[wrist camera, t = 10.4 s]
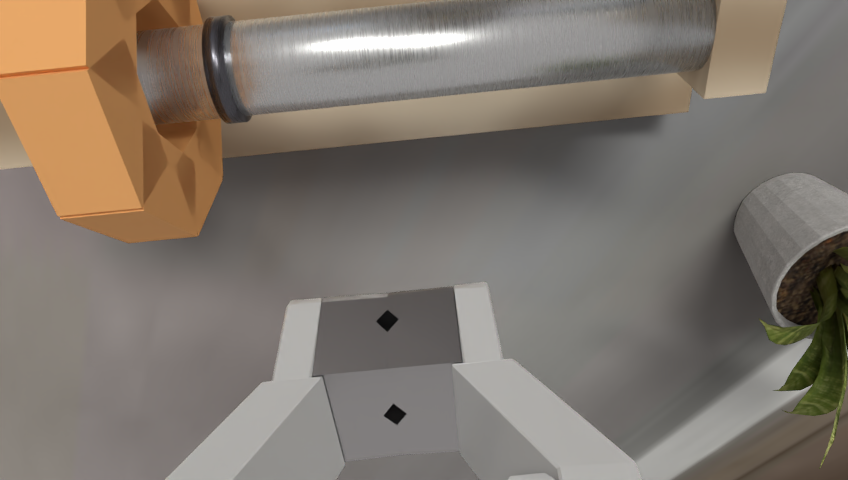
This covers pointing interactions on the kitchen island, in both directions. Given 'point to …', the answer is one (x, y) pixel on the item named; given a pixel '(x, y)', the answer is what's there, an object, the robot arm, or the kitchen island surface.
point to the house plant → (803, 279)
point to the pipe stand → (487, 111)
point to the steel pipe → (412, 53)
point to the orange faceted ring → (105, 118)
